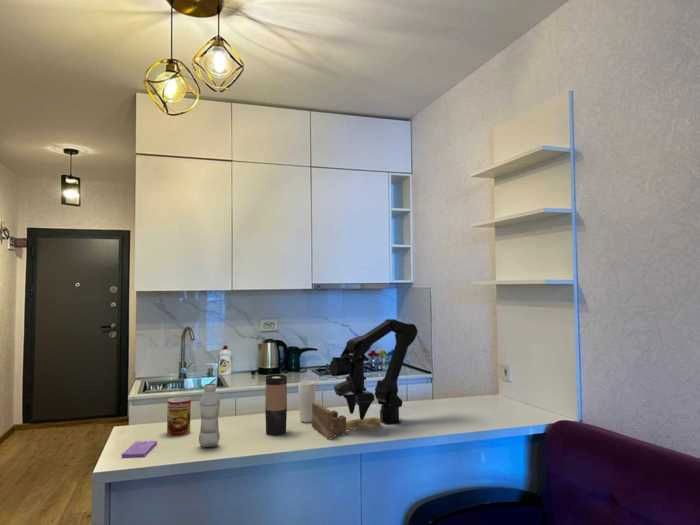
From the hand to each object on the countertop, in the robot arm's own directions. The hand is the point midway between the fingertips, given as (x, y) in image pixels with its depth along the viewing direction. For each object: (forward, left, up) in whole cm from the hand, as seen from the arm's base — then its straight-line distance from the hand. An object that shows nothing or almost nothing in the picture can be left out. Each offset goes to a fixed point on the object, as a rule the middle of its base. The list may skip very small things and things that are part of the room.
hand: (356, 416), depth 182 cm
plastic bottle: (+52, -1, -5) cm, 53 cm away
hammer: (0, 0, -4) cm, 5 cm away
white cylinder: (+13, -17, -5) cm, 22 cm away
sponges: (+73, -5, -5) cm, 74 cm away
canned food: (+60, -21, -5) cm, 64 cm away
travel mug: (+28, -7, -5) cm, 30 cm away
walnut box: (+9, 0, -4) cm, 10 cm away
